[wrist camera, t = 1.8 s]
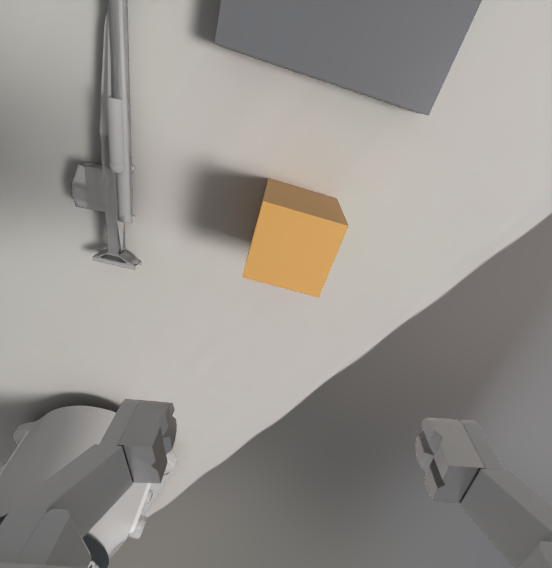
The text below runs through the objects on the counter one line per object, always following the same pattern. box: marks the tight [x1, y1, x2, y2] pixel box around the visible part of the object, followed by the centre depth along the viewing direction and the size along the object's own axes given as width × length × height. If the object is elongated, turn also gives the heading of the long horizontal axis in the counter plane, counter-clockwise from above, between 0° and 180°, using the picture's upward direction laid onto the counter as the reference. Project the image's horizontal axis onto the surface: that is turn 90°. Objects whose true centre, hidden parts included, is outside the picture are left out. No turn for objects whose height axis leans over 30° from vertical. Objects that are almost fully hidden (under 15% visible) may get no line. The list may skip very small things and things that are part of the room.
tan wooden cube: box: [243, 178, 348, 297], centre depth 25 cm, size 6×6×6 cm
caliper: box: [71, 0, 141, 270], centre depth 22 cm, size 29×2×5 cm
